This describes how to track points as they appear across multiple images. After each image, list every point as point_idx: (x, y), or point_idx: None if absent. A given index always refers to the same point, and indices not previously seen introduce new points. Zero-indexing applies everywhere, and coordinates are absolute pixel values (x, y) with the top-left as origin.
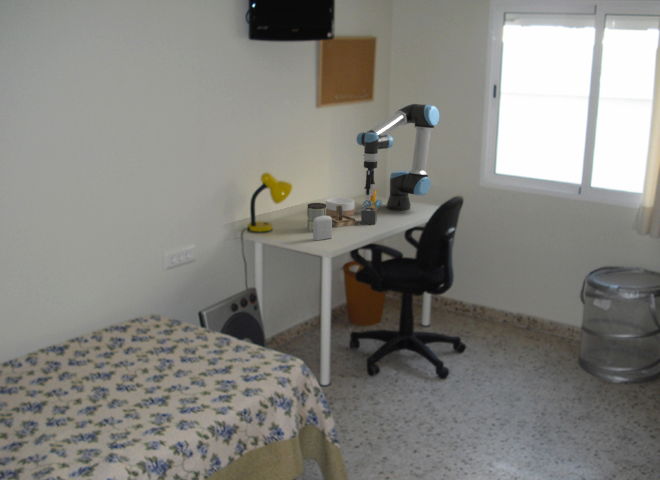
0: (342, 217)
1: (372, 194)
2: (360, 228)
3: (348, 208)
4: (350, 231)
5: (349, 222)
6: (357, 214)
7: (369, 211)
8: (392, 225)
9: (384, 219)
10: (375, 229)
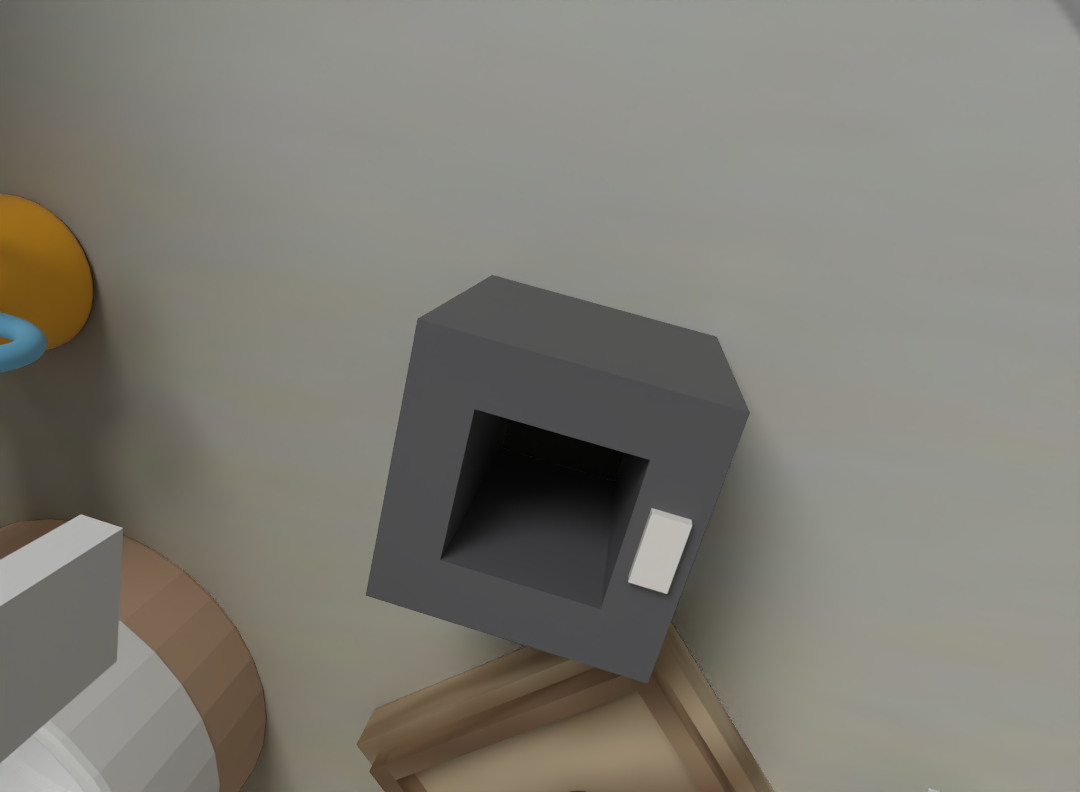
0: (452, 762)
1: (87, 568)
2: (915, 588)
3: (153, 696)
4: (1065, 743)
5: (719, 725)
6: (105, 488)
7: (702, 529)
8: (795, 11)
9: (353, 115)
10: (1033, 377)
